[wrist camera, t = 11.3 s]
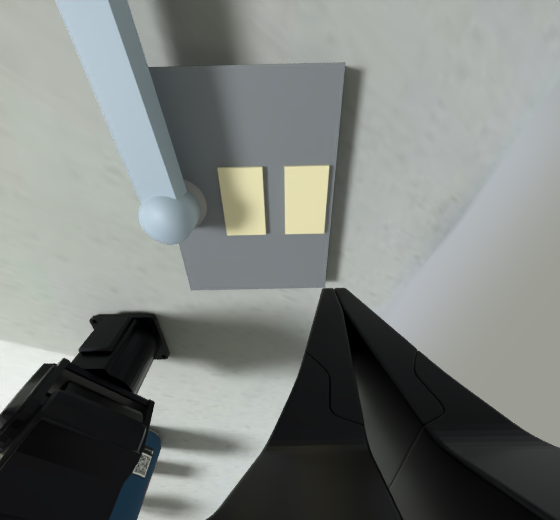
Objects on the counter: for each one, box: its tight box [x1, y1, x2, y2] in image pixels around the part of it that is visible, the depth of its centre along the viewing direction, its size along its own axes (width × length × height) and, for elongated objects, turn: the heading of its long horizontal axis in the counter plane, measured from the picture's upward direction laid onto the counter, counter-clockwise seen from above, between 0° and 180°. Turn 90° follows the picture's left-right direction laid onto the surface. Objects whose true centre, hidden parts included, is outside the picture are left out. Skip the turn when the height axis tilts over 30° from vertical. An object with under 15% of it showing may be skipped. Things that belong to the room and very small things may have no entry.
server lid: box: [148, 62, 345, 290], centre depth 19 cm, size 16×13×2 cm
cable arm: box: [55, 0, 201, 245], centre depth 13 cm, size 16×3×2 cm, turn 7°
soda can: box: [109, 428, 161, 520], centre depth 34 cm, size 7×7×12 cm
